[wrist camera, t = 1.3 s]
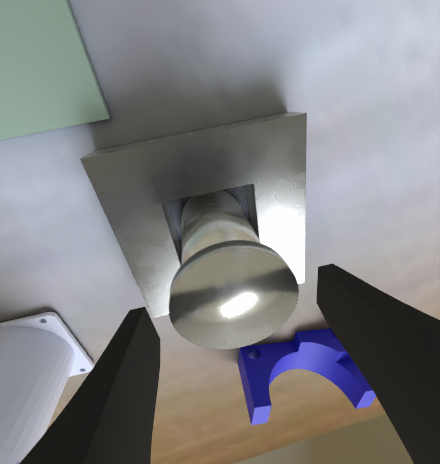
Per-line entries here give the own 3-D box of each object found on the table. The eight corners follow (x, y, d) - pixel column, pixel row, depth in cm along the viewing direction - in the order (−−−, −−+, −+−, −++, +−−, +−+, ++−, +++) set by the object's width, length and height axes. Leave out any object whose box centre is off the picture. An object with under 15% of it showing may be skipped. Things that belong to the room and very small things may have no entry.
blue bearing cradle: (345, 325, 26) (386, 380, 21) (334, 350, 28) (369, 406, 23) (240, 335, 24) (256, 398, 19) (237, 362, 27) (251, 425, 21)
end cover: (184, 254, 18) (186, 360, 11) (165, 190, 16) (150, 270, 8) (250, 240, 19) (298, 333, 11) (242, 174, 16) (298, 236, 8)
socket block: (156, 294, 20) (152, 317, 18) (96, 150, 14) (80, 158, 12) (291, 263, 20) (304, 282, 18) (287, 112, 15) (306, 113, 12)
